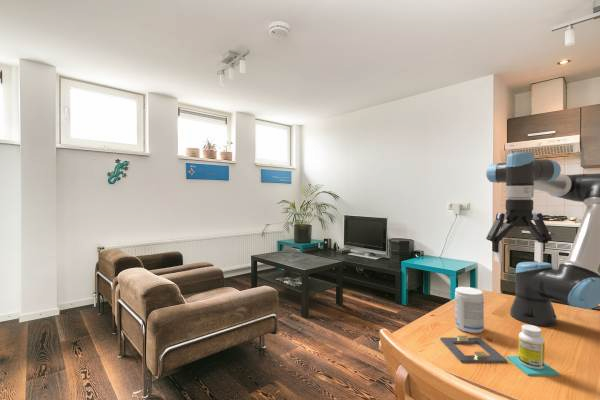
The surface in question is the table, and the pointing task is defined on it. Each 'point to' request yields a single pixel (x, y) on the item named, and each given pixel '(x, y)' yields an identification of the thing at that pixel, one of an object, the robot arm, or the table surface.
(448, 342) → the socket plate
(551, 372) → the coaster
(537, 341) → the pill bottle
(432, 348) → the table surface
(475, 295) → the supplement tub
